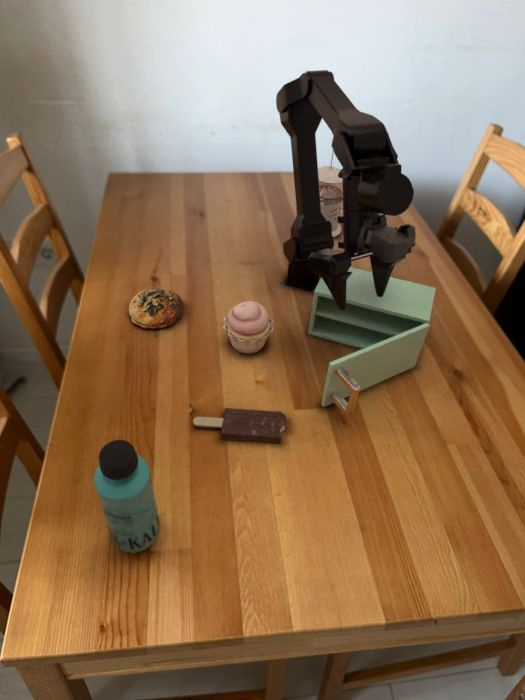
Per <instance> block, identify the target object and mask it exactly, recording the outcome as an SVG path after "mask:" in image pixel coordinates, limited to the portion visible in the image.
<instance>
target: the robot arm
mask: <svg viewBox="0 0 525 700" xmlns="http://www.w3.org/2000/svg"><path fill="white" fill-rule="evenodd" d="M275 106H276V110H277V113H278V114H279V120H280V124H281V126H282V127H283V129H284V130H285V132H286V133H287V134H288V136H289V137H290V147H291V148H290V149H291V160H292V171H293V182H294V183H293V184H294V193H295V204H296V215H295V217H294V221H293V222H292V225H291V226H290V238H289V239H287V240H286V241H284V242H283V243H282V249H283V250H282V251H283V255H284V257H285V258H286V260H287V261H288V266H287V277H286V278H285V280H284V285H285V286H289V287H294V288H298V289H301V290H304V291H308V292H314V291H315V289H316V287H317V285H318V283H319V281H320V279H321V278H322V279H323V281H324V282H325V284H326V285H327V287H328V289H329V290H330V293H331V294H332V296H333V298H334V300H335V302H336V304H337V306H338V308H339V309H340V310H345V306H346V282H347V279H348V278H349V277H350V275H351V274H352V272H350V271H348V270H349V268H350V267H352V262H353V261H358V260H362V259H364V258H365V259H366V258H369V261H370V266H371V267H370V268H371V272H372V274H373V280H374V286H375V290H376V294H377V296H378V297H383V295H384V293H385V290H386V287H387V284H388V281H389V279H390V277H392V273H393V271H394V269H395V267H396V266H397V265H398V264H399V263H400V262H401V261H403V260H405V259H406V258H407V255H408V254H411V253H412V248H414V247H416V239H417V237H416V226H415V225H412V224H410V223H405V224H400V226H399V227H397V226H394V227H391V226H389V225H388V222H387V221H388V218H387V216H391V217H396V216H400V215H402V214H403V213H404V212H406V211H407V210H408V209H409V208H410V206H411V205H412V202H413V200H414V194H415V189H414V187H413V183H412V182H411V180H410V178H409V177H408V176H407V175H405V174H404V173H402V164H401V163H399V161H398V158H399V155H398V152H396V150H395V147H394V146H393V142H392V140H391V137H390V135H389V131H387V128H386V126H385V124H384V123H383V122H382V121H381V120H380V119H378V118H377V117H376V116H374V115H372V114H369V113H366V112H363V111H360V110H359V109H358V108H357V107H356V106H355V105H354V104H353V102H352V101H351V99H350V98H349V97H348V96H347V95H346V93H345V91H343V89H342V88H341V87H340V85H339V84H338V83H337V82H336V81H335V75H334V73H333V72H332V71H329V70H328V69H322V70H318V69H317V70H307V71H305V72H303V73H301V75H300V76H299V77H297V78H295V79H293V80H290V81H288V82H287V83H285V84H283V86H282V87H281V88H280V89H279V90H278V92H277V93H276V96H275ZM322 120H323V121H324V123H325V124H326V126H327V127H328V129H329V130H330V131H331V134H332V141H331V145H330V146H331V148H332V151H333V150H334V153H333V154H334V155H335V157H336V159H337V160H338V162H339V164H340V165H341V167H342V168H340V169H341V170H340V172H339V173H338V177H339V178H342V183H341V184H342V198H343V200H342V214H340V216H338V218H337V219H338V223H339V224H342V233H343V234H342V237H343V238H342V239H343V240H341V241H338V242H337V247H338V249H335V248H334V247H335V240H334V237H333V236H332V224H331V222H330V221H327V220H326V219H325V217H324V216H323V214H322V213H321V203H320V200H321V199H320V190H319V185H320V182H319V177H318V168H319V164H318V152H317V150H318V149H317V136H316V135H317V134H316V133H317V131H318V128H319V127H320V124H321V122H322ZM339 249H342V250H339Z"/></svg>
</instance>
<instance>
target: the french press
mask: <svg viewBox="0 0 525 700" xmlns="http://www.w3.org/2000/svg"><path fill="white" fill-rule="evenodd" d="M334 154H335V153H334V150H333V149H332V153H331V161H330V165H324V166H320V167H319V166H318V177H319V190H320V204H321V203H323V204H321V213H322V214H323V216H324V217H325V219H326V220H327V221H330V222H331V224H332V236H333V238H334V237H337V236H338V235H340V234H341V232H342V231H343V228H342V225H341V223H338V216H341V211H342V209H341V208H342V207H343V189H341V188H340V187H338V186H336V185H339V184H342V178H339V177H338V173H339V172H340V170H341V169H342V168H339V167H336V166H333V158H334Z"/></svg>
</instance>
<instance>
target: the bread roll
mask: <svg viewBox="0 0 525 700" xmlns="http://www.w3.org/2000/svg"><path fill="white" fill-rule="evenodd" d="M184 307H185V306H184V302H183V300H182V297H180V295H179V294H177V293H175V292H174V291H172V290H166V289H161V288H156V287H155V288H147V289H143V290H141V291H139V292H137V293H136V295H134V296H133V297H132V299H131V300H130V302H129V304H128V315H129V316H130V318H131V321H132V323H133V324H134V325H135V324H136V325H137V326H140V327H141V328H143V329H149V330H152V329H162V328H168V327H169V326H171V325H174V324H175V323H176V322H177V321H178V320H179V319H180V318H181V316H182V314H183V313H184Z"/></svg>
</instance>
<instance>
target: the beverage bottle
mask: <svg viewBox="0 0 525 700" xmlns="http://www.w3.org/2000/svg"><path fill="white" fill-rule="evenodd" d="M98 461H99V465H98V467H97V468H96V470H95V472H94V478H93V483H94V487H95V489H96V491H97V495H98V497H99V503H100V507H101V508H102V514H103V515H104V518H105V520H106V524H107V525H106V528H108V530H109V531H108V532H109V536H110V537H111V540H112V542H113V543H114V545H115V547H116V548H118V549H120V550H121V551H123V552H126V553H140V552H142V551H144V550H146V549H148V548H149V547H151V546H152V545H153V544H154V542H155V541H156V540H157V538H158V537H159V535H160V530H161V528H160V527H161V522H160V515H159V513H158V511H159V509H158V506H157V500H156V499H157V496H156V494H155V492H154V489H153V483H152V478H151V470H150V469H151V468H150V466H149V463H148V462H147V461H146V459H145V458H144V457H142V456H141V455H139V454H138V453H137V452H136V449H135V447H134V445H133V444H132V443H131V442H130V441H128V440H126V439H116V440H111V441H109V442H107V443H106V444H105V445H103V446H102V448H101V449H100V451H99V454H98Z"/></svg>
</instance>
